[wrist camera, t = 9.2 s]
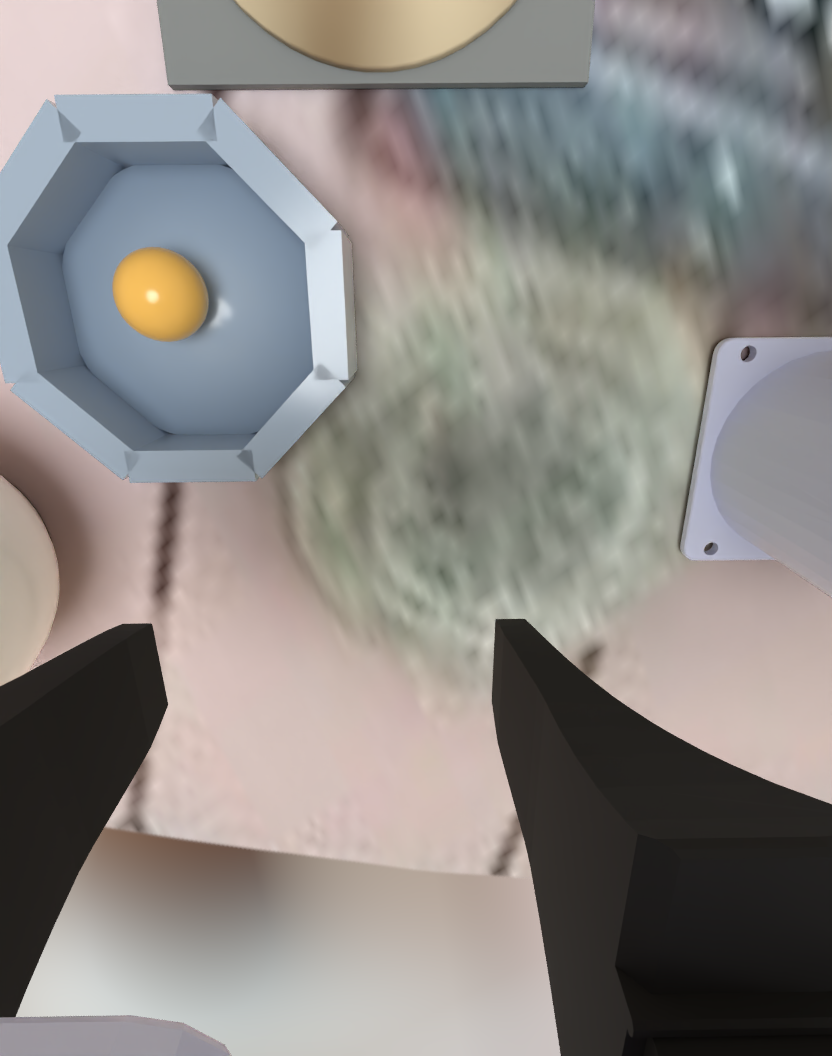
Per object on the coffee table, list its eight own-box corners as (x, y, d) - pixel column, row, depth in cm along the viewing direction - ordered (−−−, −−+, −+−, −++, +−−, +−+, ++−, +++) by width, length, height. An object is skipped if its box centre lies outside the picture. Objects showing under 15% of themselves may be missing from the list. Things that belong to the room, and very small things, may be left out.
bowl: (346, 129, 17) (333, 89, 14) (361, 457, 20) (353, 482, 17) (10, 131, 17) (-76, 92, 14) (83, 460, 20) (27, 485, 17)
